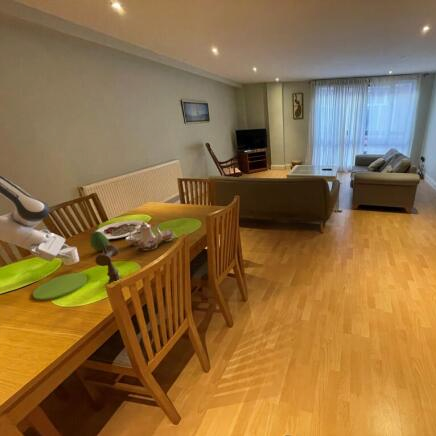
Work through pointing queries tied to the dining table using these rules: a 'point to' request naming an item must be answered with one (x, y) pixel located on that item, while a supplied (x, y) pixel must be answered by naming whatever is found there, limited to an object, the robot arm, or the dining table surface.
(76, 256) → the shot glass
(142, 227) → the chinaware
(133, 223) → the plated food
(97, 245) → the avocado
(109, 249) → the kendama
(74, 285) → the placemat
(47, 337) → the dining table surface
